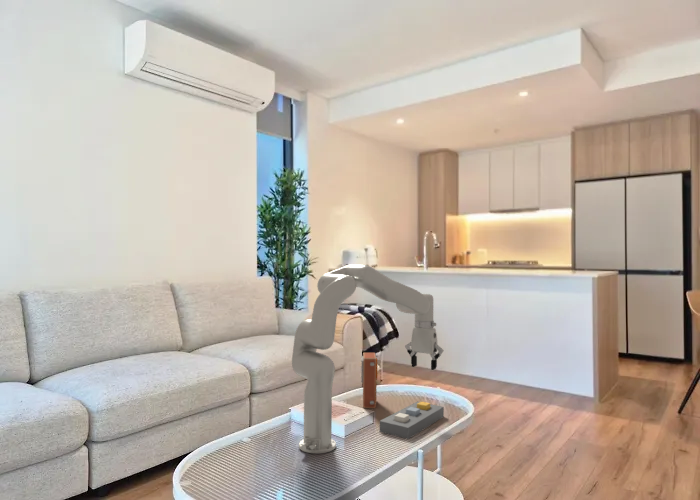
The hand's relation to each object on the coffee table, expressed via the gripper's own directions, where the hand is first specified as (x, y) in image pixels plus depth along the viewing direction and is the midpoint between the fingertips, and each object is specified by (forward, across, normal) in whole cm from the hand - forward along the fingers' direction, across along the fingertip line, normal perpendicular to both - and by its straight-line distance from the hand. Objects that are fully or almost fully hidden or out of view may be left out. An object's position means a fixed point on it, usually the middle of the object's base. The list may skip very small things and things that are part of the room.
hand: (423, 367), depth 196 cm
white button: (+17, 0, +18) cm, 25 cm away
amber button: (+17, 0, 0) cm, 17 cm away
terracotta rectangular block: (+20, +28, -2) cm, 35 cm away
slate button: (+17, 0, +9) cm, 20 cm away
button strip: (+20, 0, +9) cm, 22 cm away
